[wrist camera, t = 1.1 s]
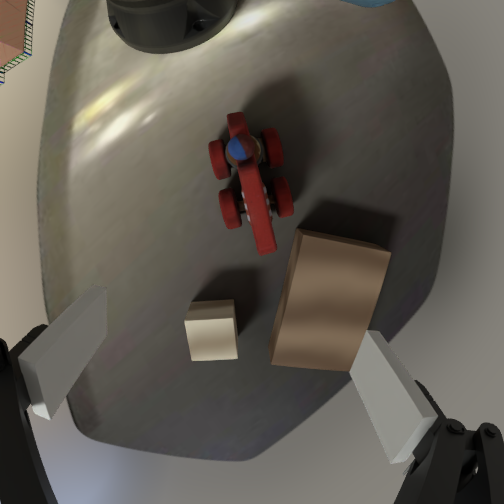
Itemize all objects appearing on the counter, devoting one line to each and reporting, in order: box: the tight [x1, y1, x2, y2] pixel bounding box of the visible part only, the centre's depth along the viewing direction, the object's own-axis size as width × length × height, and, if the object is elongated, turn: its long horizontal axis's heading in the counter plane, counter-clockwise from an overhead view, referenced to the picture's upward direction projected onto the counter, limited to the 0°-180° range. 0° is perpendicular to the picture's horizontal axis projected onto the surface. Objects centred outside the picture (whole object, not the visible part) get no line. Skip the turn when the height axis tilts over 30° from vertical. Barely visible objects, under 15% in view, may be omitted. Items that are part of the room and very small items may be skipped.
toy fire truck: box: [208, 112, 294, 256], centre depth 27 cm, size 7×12×10 cm, turn 12°
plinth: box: [268, 228, 391, 371], centre depth 34 cm, size 15×10×4 cm, turn 169°
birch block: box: [185, 299, 238, 361], centre depth 34 cm, size 5×5×5 cm
